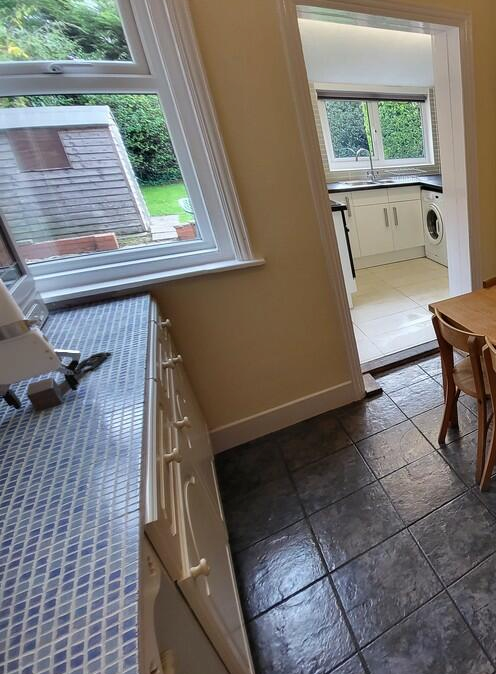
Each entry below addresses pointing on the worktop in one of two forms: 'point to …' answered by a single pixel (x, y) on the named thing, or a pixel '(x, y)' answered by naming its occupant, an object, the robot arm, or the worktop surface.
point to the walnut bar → (44, 394)
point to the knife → (101, 359)
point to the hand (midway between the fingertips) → (47, 397)
